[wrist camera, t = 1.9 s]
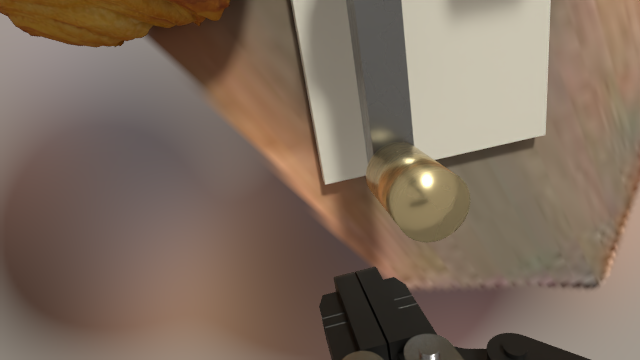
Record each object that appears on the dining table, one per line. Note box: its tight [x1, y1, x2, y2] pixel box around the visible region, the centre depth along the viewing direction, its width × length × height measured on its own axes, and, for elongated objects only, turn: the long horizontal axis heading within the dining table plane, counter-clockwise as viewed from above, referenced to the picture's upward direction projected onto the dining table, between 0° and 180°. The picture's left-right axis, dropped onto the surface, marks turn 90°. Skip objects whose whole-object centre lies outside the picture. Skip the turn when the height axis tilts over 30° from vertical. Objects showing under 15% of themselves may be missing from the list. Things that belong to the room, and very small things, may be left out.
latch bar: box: [346, 0, 470, 242], centre depth 19 cm, size 17×4×7 cm, turn 10°
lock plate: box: [291, 0, 551, 185], centre depth 24 cm, size 20×19×7 cm
